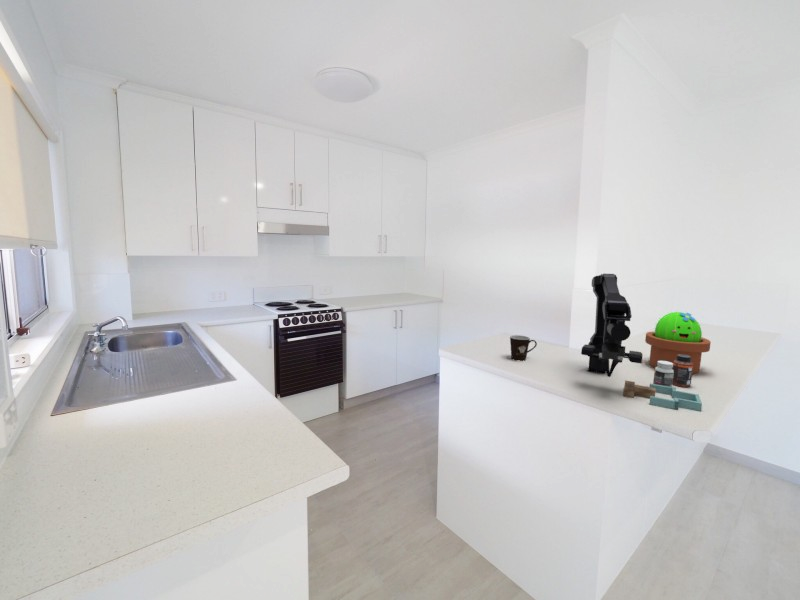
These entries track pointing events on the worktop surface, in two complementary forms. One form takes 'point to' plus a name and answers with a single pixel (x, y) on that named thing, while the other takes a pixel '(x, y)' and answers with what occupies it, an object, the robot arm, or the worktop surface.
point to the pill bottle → (663, 374)
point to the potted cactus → (677, 340)
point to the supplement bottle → (682, 371)
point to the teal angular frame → (675, 398)
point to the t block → (637, 390)
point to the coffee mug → (520, 347)
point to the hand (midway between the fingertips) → (609, 376)
